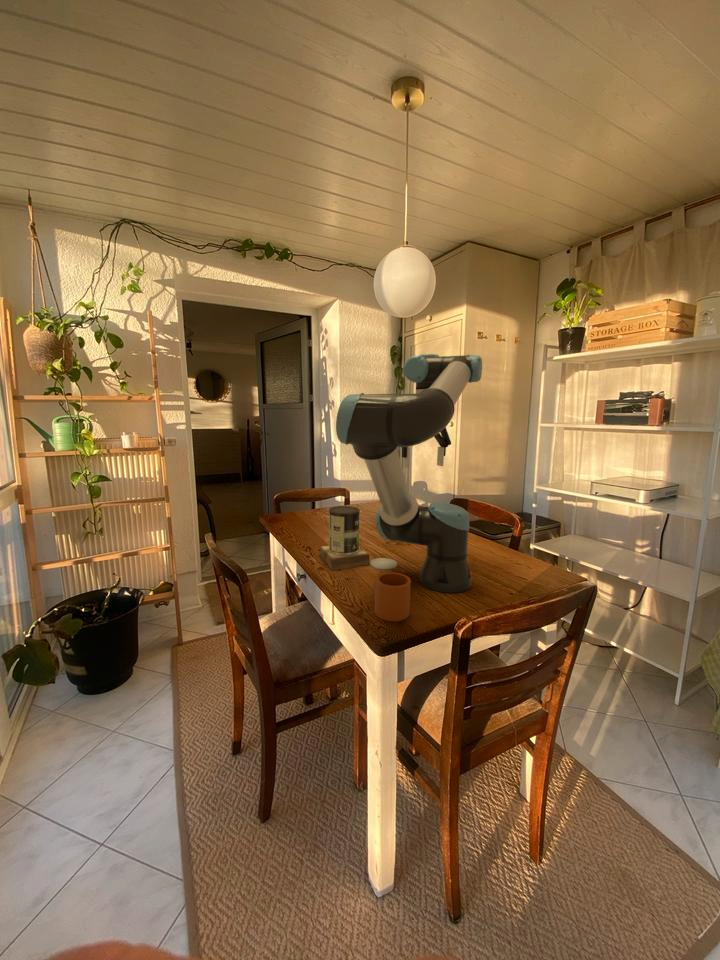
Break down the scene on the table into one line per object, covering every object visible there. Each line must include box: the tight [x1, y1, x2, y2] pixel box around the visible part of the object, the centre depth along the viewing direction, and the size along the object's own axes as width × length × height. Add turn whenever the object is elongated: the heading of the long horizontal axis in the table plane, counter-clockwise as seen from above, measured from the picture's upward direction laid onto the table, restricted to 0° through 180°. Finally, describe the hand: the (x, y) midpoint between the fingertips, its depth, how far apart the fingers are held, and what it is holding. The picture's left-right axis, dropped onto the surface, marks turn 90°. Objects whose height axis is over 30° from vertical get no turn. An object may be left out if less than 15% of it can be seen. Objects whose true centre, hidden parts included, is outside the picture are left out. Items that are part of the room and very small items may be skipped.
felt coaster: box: [369, 557, 398, 571], centre depth 132 cm, size 9×9×1 cm
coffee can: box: [328, 505, 361, 555], centre depth 133 cm, size 10×10×14 cm
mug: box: [373, 571, 412, 622], centre depth 102 cm, size 9×12×9 cm
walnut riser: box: [319, 545, 371, 571], centre depth 135 cm, size 13×13×4 cm
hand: (423, 466), depth 136 cm, fingers open, 13 cm apart
